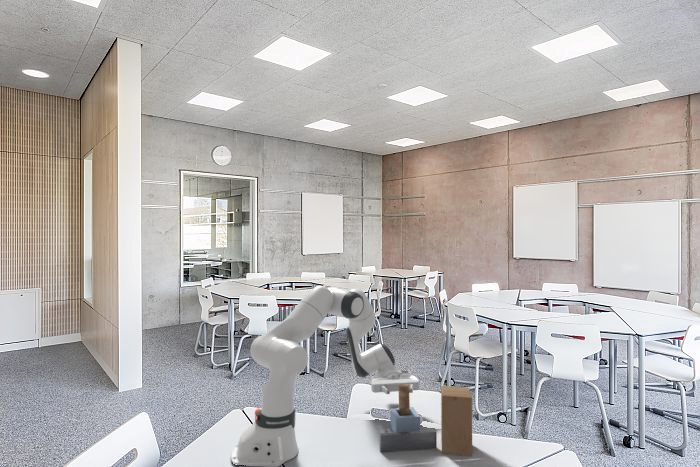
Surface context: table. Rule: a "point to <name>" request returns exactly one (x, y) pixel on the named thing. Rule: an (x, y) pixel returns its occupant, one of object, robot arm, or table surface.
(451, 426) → the wooden block
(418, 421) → the blue hollow square block
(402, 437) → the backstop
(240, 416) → the table surface
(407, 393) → the dowel
